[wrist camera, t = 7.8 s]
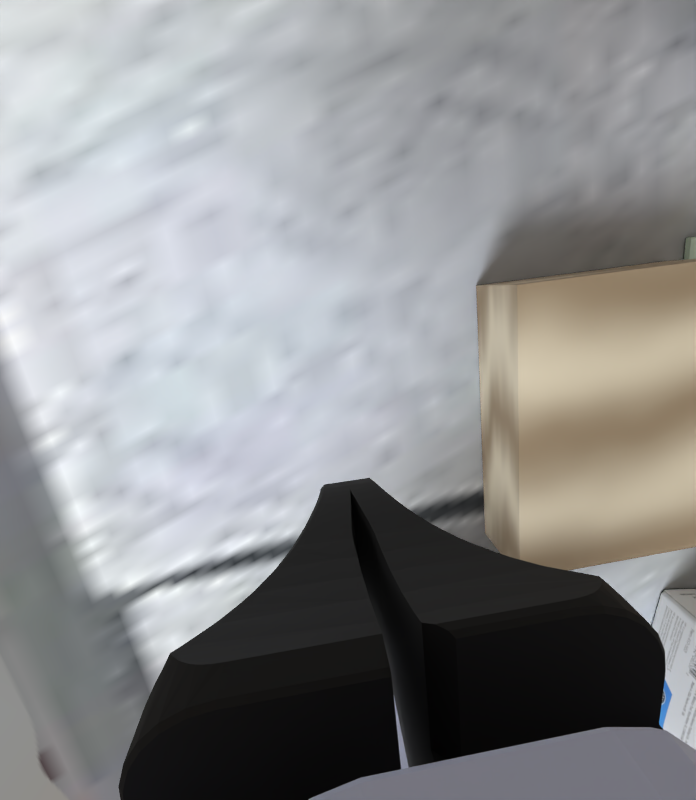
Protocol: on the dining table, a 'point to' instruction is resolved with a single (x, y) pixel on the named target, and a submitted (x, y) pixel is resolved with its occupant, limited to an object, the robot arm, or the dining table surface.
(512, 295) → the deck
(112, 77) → the dining table surface
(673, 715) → the ink box
